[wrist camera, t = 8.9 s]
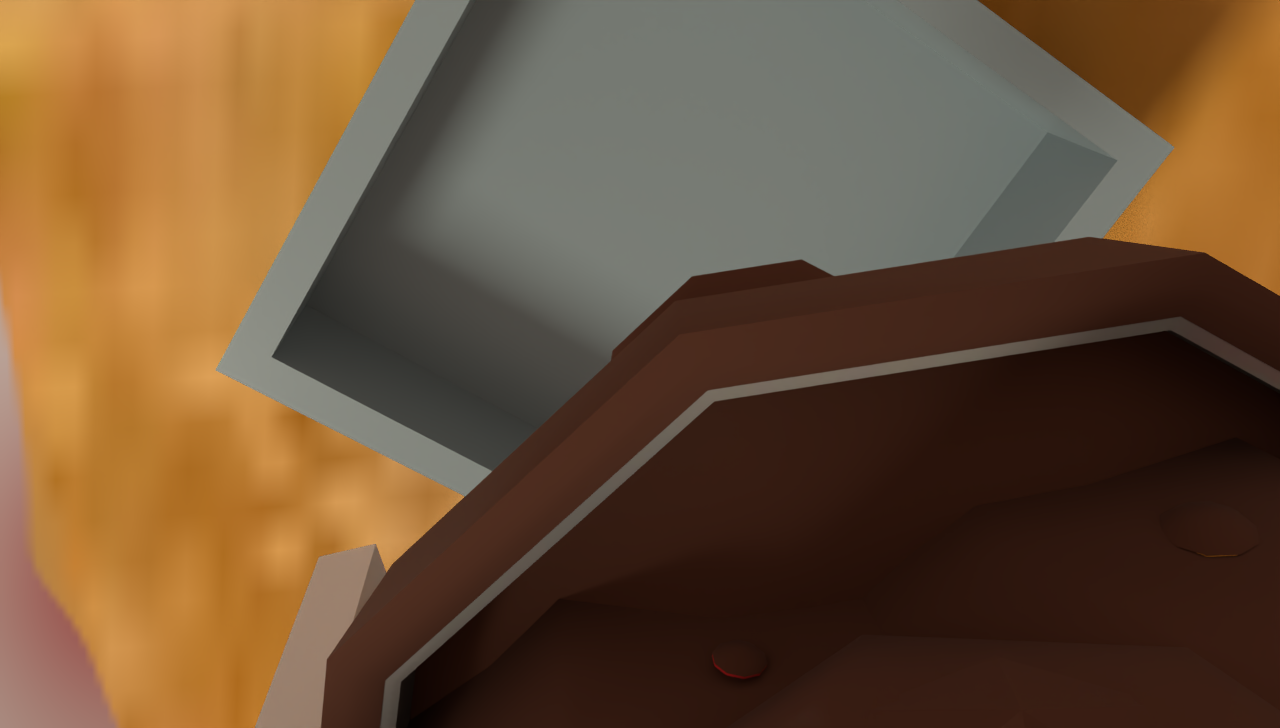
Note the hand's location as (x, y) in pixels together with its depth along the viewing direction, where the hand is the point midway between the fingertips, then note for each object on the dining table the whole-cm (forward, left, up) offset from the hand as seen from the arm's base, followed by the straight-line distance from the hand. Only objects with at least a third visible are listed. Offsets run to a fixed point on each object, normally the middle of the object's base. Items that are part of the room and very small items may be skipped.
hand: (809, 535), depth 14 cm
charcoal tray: (0, 0, -18) cm, 18 cm away
